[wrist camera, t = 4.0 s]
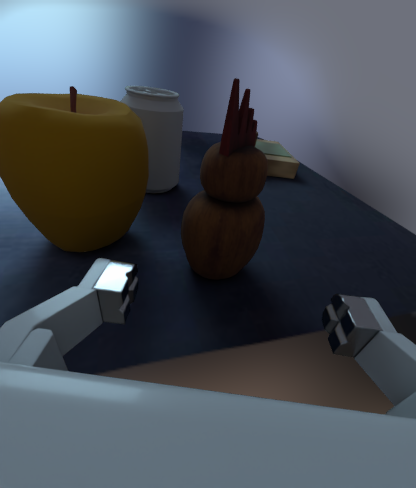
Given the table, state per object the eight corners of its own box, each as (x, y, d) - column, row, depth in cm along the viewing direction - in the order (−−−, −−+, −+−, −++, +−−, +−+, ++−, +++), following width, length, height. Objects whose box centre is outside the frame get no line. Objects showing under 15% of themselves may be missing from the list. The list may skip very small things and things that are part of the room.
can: (182, 196, 34) (190, 97, 27) (125, 195, 32) (118, 88, 25) (174, 174, 40) (178, 88, 33) (125, 173, 38) (119, 80, 31)
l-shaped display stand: (274, 155, 58) (284, 122, 53) (294, 178, 46) (308, 140, 42) (232, 149, 56) (238, 116, 52) (242, 172, 45) (251, 132, 41)
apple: (119, 290, 20) (99, 111, 12) (-5, 260, 20) (-97, 73, 13) (163, 221, 29) (168, 93, 21) (76, 202, 29) (49, 71, 22)
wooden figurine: (199, 299, 20) (237, 81, 11) (169, 257, 24) (180, 67, 15) (260, 275, 23) (327, 93, 15) (226, 241, 27) (262, 79, 18)
